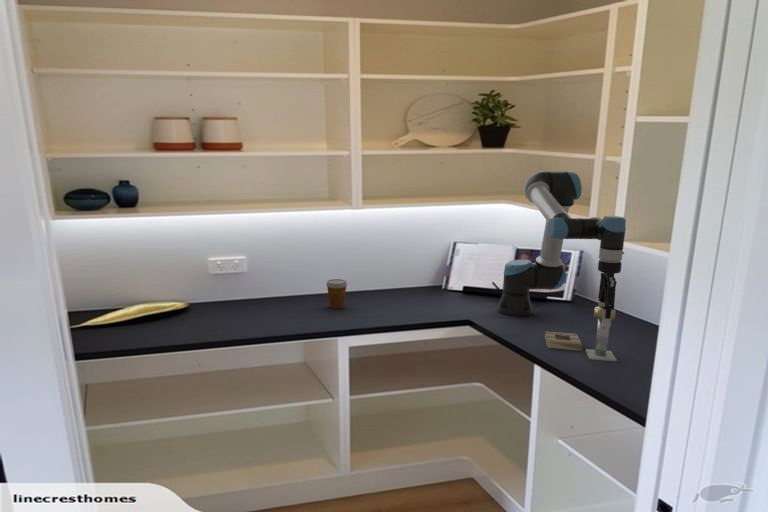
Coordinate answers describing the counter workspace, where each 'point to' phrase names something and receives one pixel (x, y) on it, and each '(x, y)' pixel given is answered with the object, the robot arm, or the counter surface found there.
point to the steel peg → (601, 332)
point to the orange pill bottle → (336, 292)
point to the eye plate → (563, 341)
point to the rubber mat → (592, 356)
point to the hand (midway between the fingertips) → (603, 323)
